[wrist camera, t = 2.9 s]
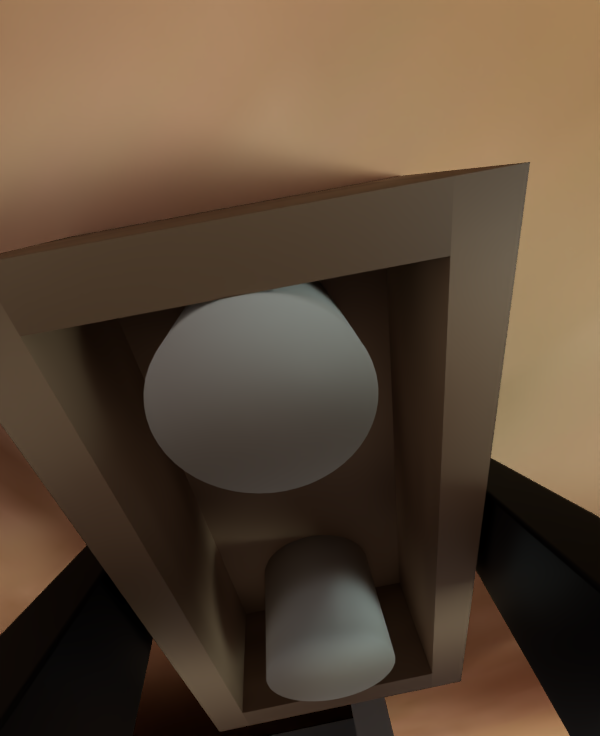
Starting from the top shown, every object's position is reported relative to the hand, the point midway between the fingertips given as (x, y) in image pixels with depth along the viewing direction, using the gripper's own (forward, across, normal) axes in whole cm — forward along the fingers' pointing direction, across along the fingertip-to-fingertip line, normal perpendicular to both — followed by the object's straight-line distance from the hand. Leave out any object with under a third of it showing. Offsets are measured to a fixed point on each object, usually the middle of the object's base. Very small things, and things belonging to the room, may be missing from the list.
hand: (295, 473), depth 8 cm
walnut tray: (+1, 0, 0) cm, 1 cm away
